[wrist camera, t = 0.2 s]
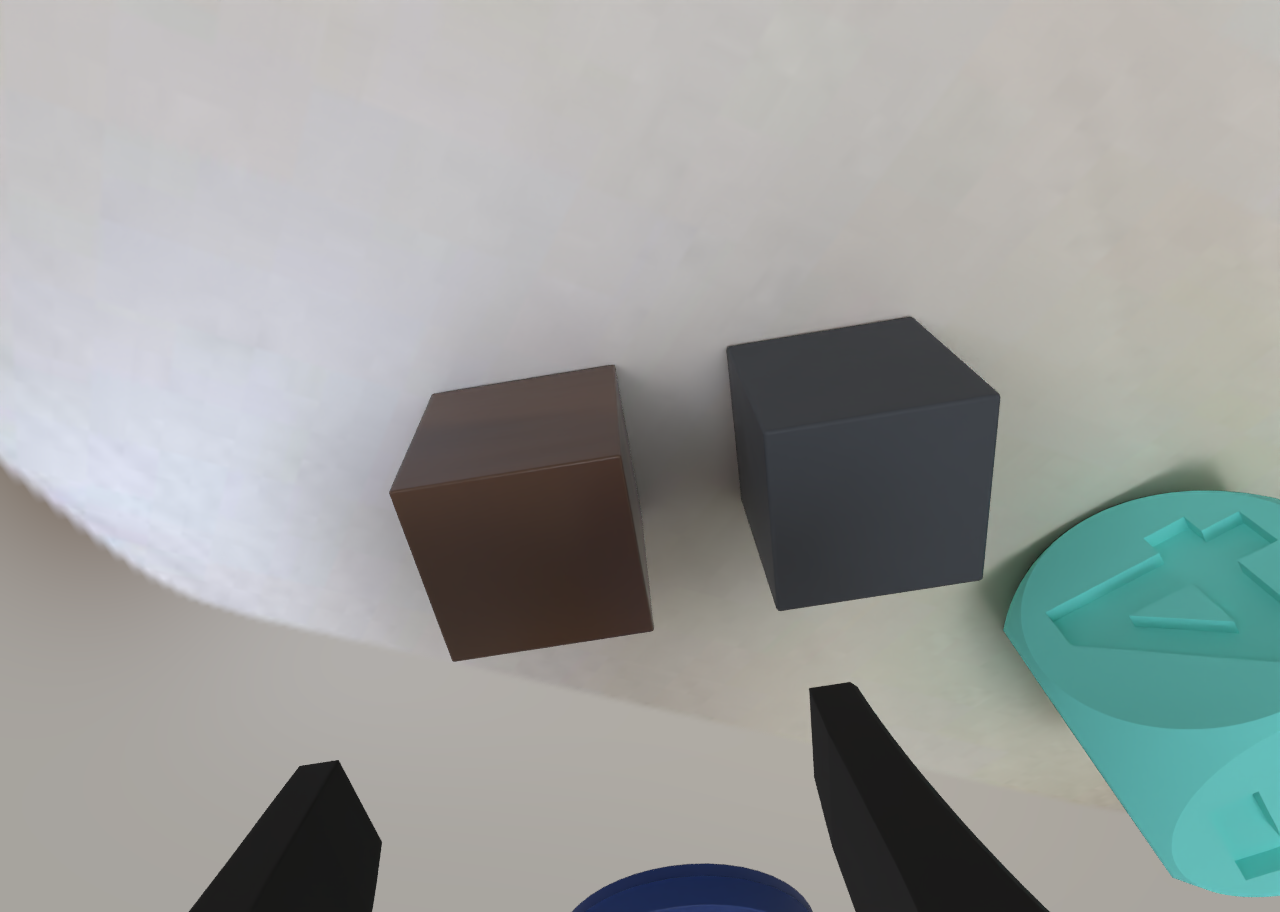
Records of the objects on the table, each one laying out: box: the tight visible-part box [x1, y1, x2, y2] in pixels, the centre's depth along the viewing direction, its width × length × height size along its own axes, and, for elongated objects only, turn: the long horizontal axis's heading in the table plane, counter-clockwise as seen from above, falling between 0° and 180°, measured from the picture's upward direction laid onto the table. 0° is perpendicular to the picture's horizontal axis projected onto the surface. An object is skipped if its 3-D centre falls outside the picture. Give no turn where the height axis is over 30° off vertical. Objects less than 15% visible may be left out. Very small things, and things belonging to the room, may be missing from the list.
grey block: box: [727, 317, 1000, 611], centre depth 19 cm, size 5×5×5 cm
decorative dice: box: [1003, 490, 1280, 897], centre depth 22 cm, size 8×8×8 cm
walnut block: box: [389, 365, 654, 662], centre depth 19 cm, size 5×5×5 cm
